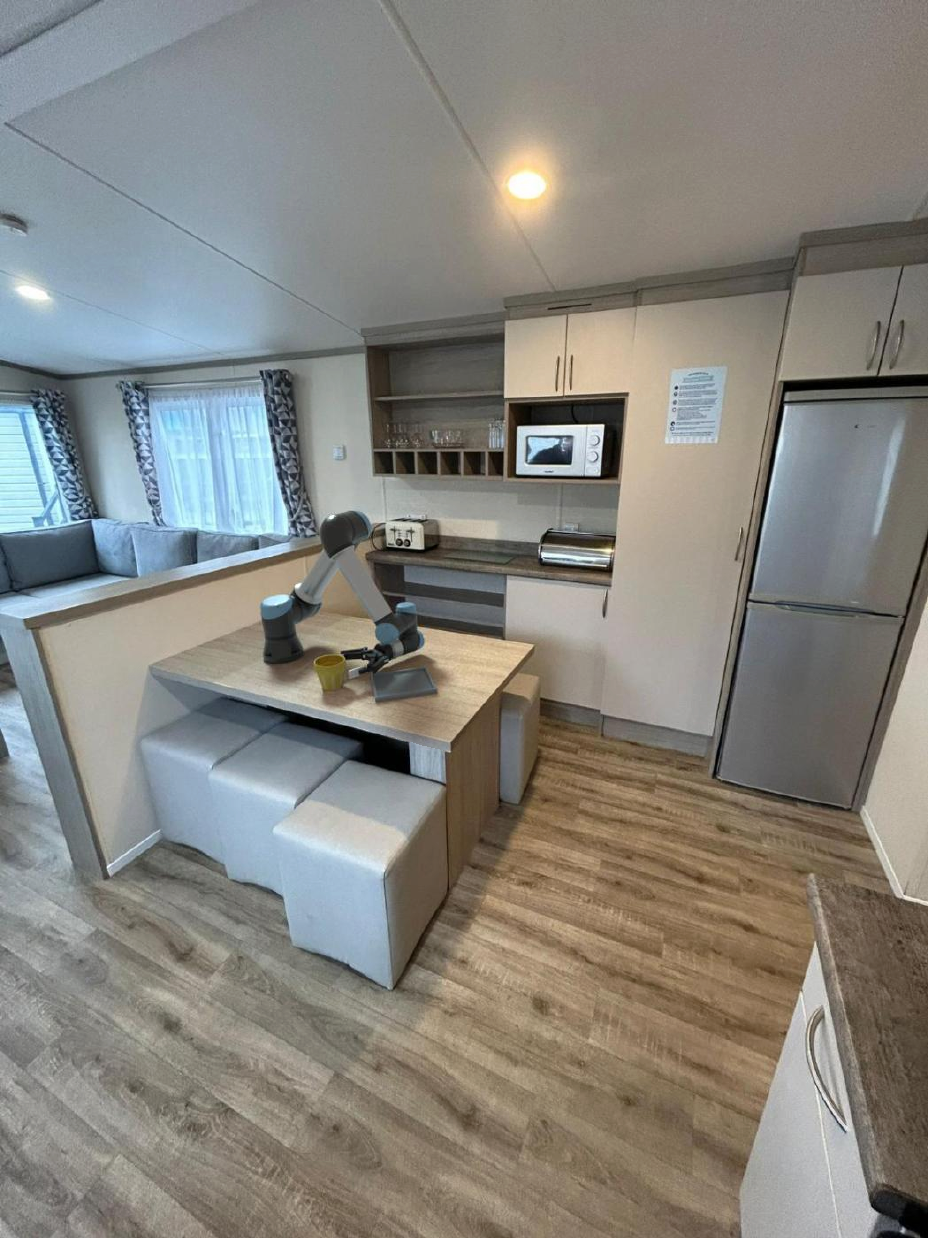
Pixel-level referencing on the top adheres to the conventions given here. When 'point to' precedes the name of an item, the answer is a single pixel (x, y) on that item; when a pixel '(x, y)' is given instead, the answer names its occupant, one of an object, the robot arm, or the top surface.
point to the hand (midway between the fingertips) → (337, 669)
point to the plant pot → (330, 671)
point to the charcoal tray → (402, 684)
